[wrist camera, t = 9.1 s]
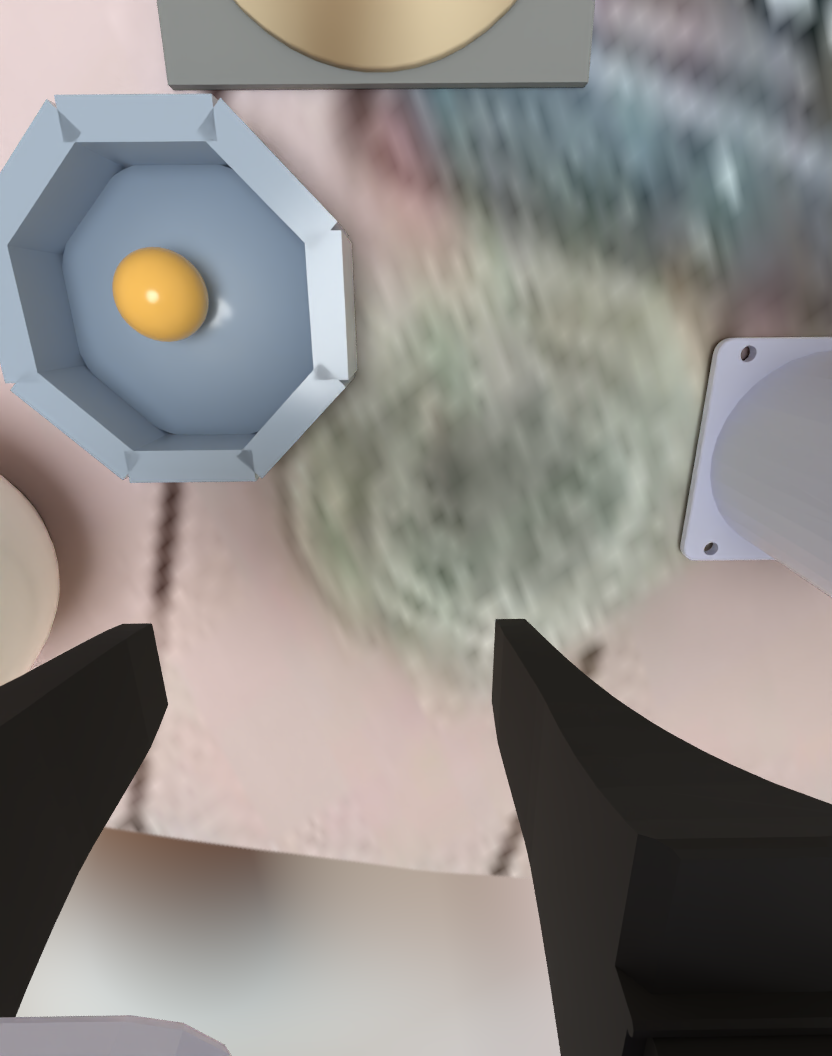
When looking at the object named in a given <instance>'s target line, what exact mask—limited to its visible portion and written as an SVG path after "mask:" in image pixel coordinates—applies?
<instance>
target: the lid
mask: <svg viewBox="0 0 832 1056" xmlns="http://www.w3.org/2000/svg"><path fill="white" fill-rule="evenodd" d="M233 1H234V2H235V3H236V4H237V5H238V6H239V7H240V9H241V10H242V11H243V12H244V13H245V14H246V15H247V16H248V17H249V18H251V19H252V20H253V21H254V22H255V23H256V24H257V25H259V26H260V27H261V28H262V29H263V30H264V31H265V32H267V33H268V34H269V35H271V36H272V37H274V38H275V39H277V40H278V41H280V42H281V43H283V44H284V45H286V46H287V47H289V48H290V49H292V50H294V51H296V52H298V53H300V54H302V55H304V56H307V57H309V58H311V59H313V60H315V61H318V62H321V63H324V64H327V65H330V66H334V67H337V68H340V69H346V70H353V71H359V72H395V71H401V70H407V69H413V68H417V67H420V66H423V65H426V64H429V63H432V62H435V61H438V60H441V59H443V58H445V57H447V56H449V55H451V54H453V53H455V52H456V51H458V50H460V49H462V48H464V47H466V46H467V45H468V44H470V43H471V42H473V41H474V40H475V39H477V38H478V37H480V36H481V35H482V34H484V33H485V32H487V31H488V30H489V29H490V28H491V27H492V26H493V25H494V24H495V23H496V22H497V21H498V20H499V19H501V18H502V17H503V16H504V15H505V14H506V13H507V12H508V11H509V10H510V8H511V7H512V6H513V5H514V4H515V2H516V1H517V0H233Z"/></svg>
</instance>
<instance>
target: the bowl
mask: <svg viewBox="0 0 832 1056" xmlns="http://www.w3.org/2000/svg"><path fill="white" fill-rule="evenodd" d="M54 96H55V102H56V104H54V103H52V102H51V101H49V100H47V99H46V101H45V103H44V104H43V106H42V107H41V109H40V110H39V112H38V114H37V115H36V117H35V118H34V120H33V122H32V123H31V125H30V126H29V128H28V130H27V131H26V133H25V134H24V136H23V137H22V139H21V141H20V142H19V144H18V145H17V147H16V149H15V150H14V152H13V153H12V155H11V156H10V158H9V160H8V161H7V163H6V164H5V166H4V168H3V169H2V171H1V172H0V364H1V368H2V372H3V376H4V379H5V383H15V384H14V386H13V387H12V389H11V390H10V391H12V392H13V393H14V394H15V395H17V396H18V397H19V398H20V399H22V400H23V401H24V402H25V403H27V404H28V405H29V406H30V407H32V408H33V409H34V410H36V411H37V412H38V413H39V414H41V415H42V416H43V417H44V418H46V419H47V420H48V421H49V422H51V423H52V424H53V425H54V426H56V427H57V428H58V429H59V430H61V431H62V432H63V433H64V434H66V435H67V436H68V437H69V438H71V439H72V440H73V441H74V442H76V443H77V444H78V445H79V446H81V447H82V448H83V449H84V450H86V451H87V452H88V453H89V454H91V455H92V456H93V457H94V458H96V459H97V460H98V461H99V462H101V463H102V464H103V465H104V466H106V467H107V468H108V469H109V470H111V471H112V472H113V473H114V474H116V475H117V476H118V477H120V478H121V479H122V480H124V479H126V478H127V477H129V480H130V483H151V482H243V481H256V480H257V479H258V478H259V477H261V478H263V477H264V476H265V475H266V474H267V473H268V471H269V470H270V469H271V468H272V467H273V466H274V465H275V464H276V463H277V462H278V461H279V459H280V458H281V457H282V456H283V455H284V454H285V453H286V452H287V451H288V450H289V449H290V448H291V446H292V445H293V444H294V443H295V442H296V441H297V440H298V439H299V438H300V437H301V436H302V434H303V433H304V432H305V431H306V430H307V429H308V428H309V427H310V426H311V425H312V424H313V422H314V421H315V420H316V419H317V418H318V417H319V416H320V415H321V414H322V413H323V412H324V410H325V409H326V408H327V407H328V406H329V405H330V404H331V403H332V402H333V401H334V400H335V398H336V397H337V396H338V395H339V394H340V393H341V392H342V391H343V390H344V389H345V388H346V386H347V385H348V384H349V383H350V382H351V381H352V379H353V378H354V377H355V376H354V375H353V374H354V373H355V372H356V371H357V348H356V325H355V302H354V279H353V256H352V243H351V241H350V240H349V239H348V236H349V235H348V234H347V233H346V232H345V230H344V229H343V228H342V227H341V225H340V224H339V223H338V222H337V221H336V220H335V218H334V217H333V216H332V215H331V214H330V213H329V212H328V211H327V210H326V209H325V208H324V207H323V206H322V205H321V204H320V203H319V202H318V201H317V199H316V198H315V197H314V196H313V195H312V194H311V193H310V192H309V191H308V190H307V189H306V188H305V187H304V186H303V185H302V184H301V183H300V181H299V180H298V179H297V178H296V177H295V176H294V175H293V174H292V173H291V172H290V171H289V170H288V169H287V168H286V167H285V166H284V165H283V164H282V162H281V161H280V160H279V159H278V158H277V157H276V156H275V155H274V154H273V153H272V152H271V151H270V150H269V149H268V148H267V147H266V146H265V145H264V143H263V142H262V141H261V140H260V139H259V138H258V137H257V136H256V135H255V134H254V133H253V132H252V131H251V130H250V129H249V128H248V127H247V125H246V124H245V123H244V122H243V121H242V120H241V119H240V118H239V117H238V116H237V115H236V114H235V113H234V112H233V111H232V110H231V109H230V108H229V106H228V105H227V104H226V103H225V102H224V101H223V100H222V99H221V98H220V99H219V100H217V99H216V98H215V97H214V96H213V95H212V94H109V95H54Z"/></svg>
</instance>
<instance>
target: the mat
mask: <svg viewBox="0 0 832 1056" xmlns="http://www.w3.org/2000/svg"><path fill="white" fill-rule="evenodd" d="M157 6H158V14H159V21H160V28H161V36H162V43H163V50H164V58H165V65H166V73H167V80H168V85H169V86H170V87H171V88H172V89H173V90H242V89H386V88H529V87H585V86H586V84H587V83H588V79H589V67H590V55H591V43H592V30H593V18H594V6H595V0H517V1H516V2H515V4H514V5H513V6H512V7H511V8H510V10H509V11H508V12H507V13H506V14H505V15H504V16H503V17H502V18H501V19H499V20H498V21H497V22H496V23H495V24H494V25H493V26H492V27H491V28H490V29H489V30H488V31H487V32H485V33H484V34H482V35H481V36H480V37H478V38H477V39H475V40H474V41H473V42H471V43H470V44H468V45H467V46H466V47H464V48H462V49H460V50H458V51H456V52H455V53H453V54H451V55H449V56H447V57H445V58H443V59H441V60H438V61H435V62H432V63H429V64H426V65H423V66H420V67H417V68H413V69H407V70H401V71H395V72H359V71H353V70H346V69H340V68H337V67H334V66H330V65H327V64H324V63H321V62H318V61H315V60H313V59H311V58H309V57H307V56H304V55H302V54H300V53H298V52H296V51H294V50H292V49H290V48H289V47H287V46H286V45H284V44H283V43H281V42H280V41H278V40H277V39H275V38H274V37H272V36H271V35H269V34H268V33H267V32H265V31H264V30H263V29H262V28H261V27H260V26H259V25H257V24H256V23H255V22H254V21H253V20H252V19H251V18H249V17H248V16H247V15H246V14H245V13H244V12H243V11H242V10H241V9H240V7H239V6H238V5H237V4H236V3H235V2H234V1H233V0H157Z"/></svg>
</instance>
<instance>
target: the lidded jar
mask: <svg viewBox="0 0 832 1056" xmlns="http://www.w3.org/2000/svg"><path fill="white" fill-rule="evenodd" d="M59 592H60V580H59V568H58V561H57V557H56V553H55V549H54V545H53V543H52V541H51V538H50V536H49V534H48V531H47V529H46V527H45V525H44V522H43V520H42V518H41V517H40V515H39V514H38V512H37V510H36V509H35V507H34V506H33V505H32V504H31V503H30V501H29V500H28V499H27V498H26V497H25V496H24V495H23V494H22V493H21V492H20V491H19V490H18V489H17V488H16V487H14V486H13V485H12V484H11V483H10V482H9V481H8V480H7V479H5V478H4V477H3V476H1V475H0V686H2V685H4V684H6V683H8V682H10V681H12V680H14V679H16V678H18V677H20V676H22V675H24V674H26V673H27V672H29V671H30V669H31V667H32V666H33V664H34V662H35V660H36V659H37V657H38V655H39V653H40V652H41V650H42V648H43V646H44V644H45V643H46V641H47V639H48V637H49V634H50V631H51V628H52V625H53V621H54V618H55V615H56V611H57V608H58V602H59Z"/></svg>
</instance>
